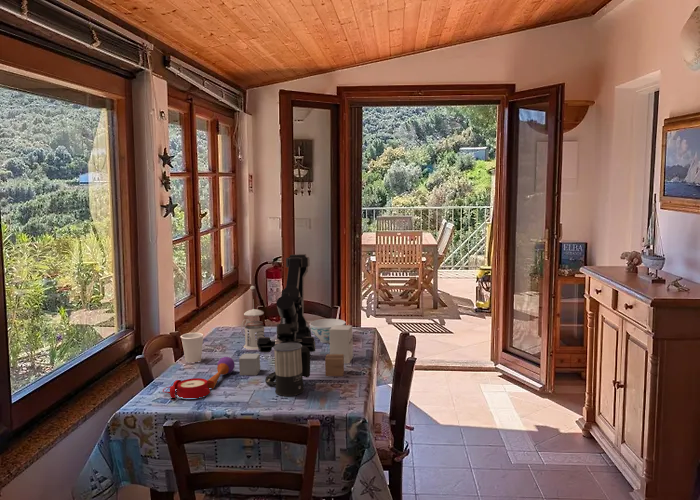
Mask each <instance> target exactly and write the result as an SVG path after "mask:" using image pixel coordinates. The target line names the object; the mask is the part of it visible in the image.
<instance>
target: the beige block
mask: <svg viewBox="0 0 700 500" xmlns="http://www.w3.org/2000/svg"><path fill="white" fill-rule="evenodd" d="M260 358H261V354H260V353H242V354H241V355H240V356H239V359H238V362H239V363H238V367H239V376H258V374H259V373H260V371H261V359H260Z"/></svg>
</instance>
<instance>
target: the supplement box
mask: <svg viewBox="0 0 700 500" xmlns="http://www.w3.org/2000/svg"><path fill="white" fill-rule="evenodd" d="M329 333H330V343H329V354H344V364H350V362H351V361H352V359H354V356H353V355H354V354H353V353H354V352H353V351H354V350H353V349H354V348H353V347H354V345H353V325H351V324H349V325H346V324H345V325H334V326H333V327H332V328H331V329H330V330H329Z"/></svg>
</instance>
